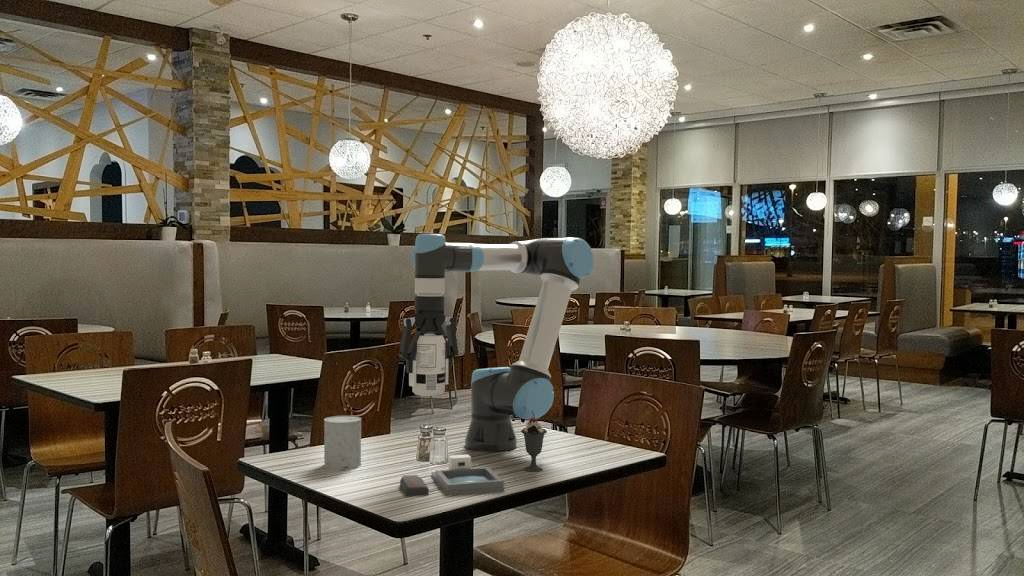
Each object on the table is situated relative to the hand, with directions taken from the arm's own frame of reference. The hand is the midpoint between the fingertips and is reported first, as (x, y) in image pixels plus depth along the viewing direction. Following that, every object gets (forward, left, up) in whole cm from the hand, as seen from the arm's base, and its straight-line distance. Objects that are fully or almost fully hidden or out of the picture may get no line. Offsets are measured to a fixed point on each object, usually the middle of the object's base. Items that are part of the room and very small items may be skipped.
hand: (428, 384), depth 206 cm
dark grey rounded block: (+6, +14, -23) cm, 28 cm away
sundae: (-27, +4, -23) cm, 35 cm away
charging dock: (-7, +13, -22) cm, 27 cm away
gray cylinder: (+20, -13, -23) cm, 33 cm away
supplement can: (0, 0, -2) cm, 2 cm away
